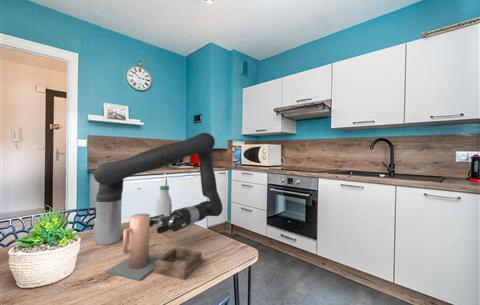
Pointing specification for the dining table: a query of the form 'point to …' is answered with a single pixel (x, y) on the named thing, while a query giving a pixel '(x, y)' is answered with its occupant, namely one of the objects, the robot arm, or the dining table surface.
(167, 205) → the milk bottle
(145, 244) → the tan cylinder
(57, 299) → the dining table surface
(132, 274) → the charcoal mat
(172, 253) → the walnut collar
